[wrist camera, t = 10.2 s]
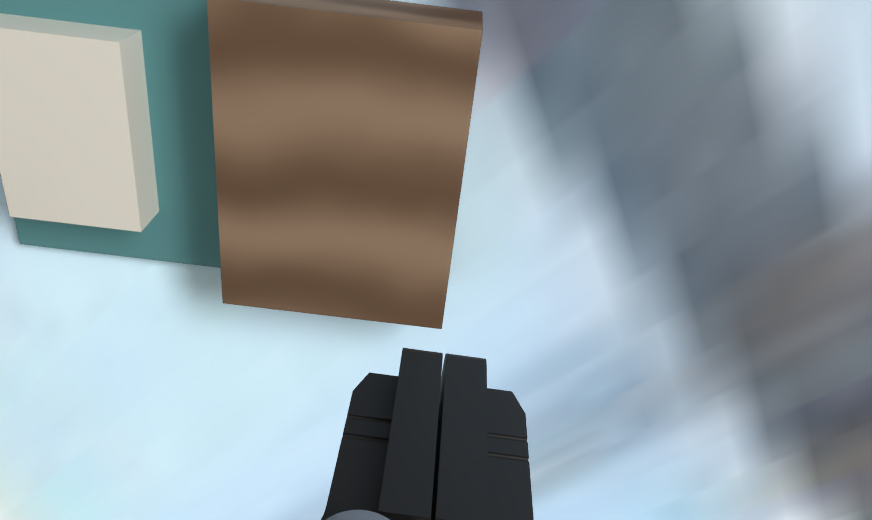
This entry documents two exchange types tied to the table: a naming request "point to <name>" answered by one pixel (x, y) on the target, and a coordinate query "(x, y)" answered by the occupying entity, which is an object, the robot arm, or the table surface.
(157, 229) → the mat
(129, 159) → the cream rectangular tile
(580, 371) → the table surface
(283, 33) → the deck
